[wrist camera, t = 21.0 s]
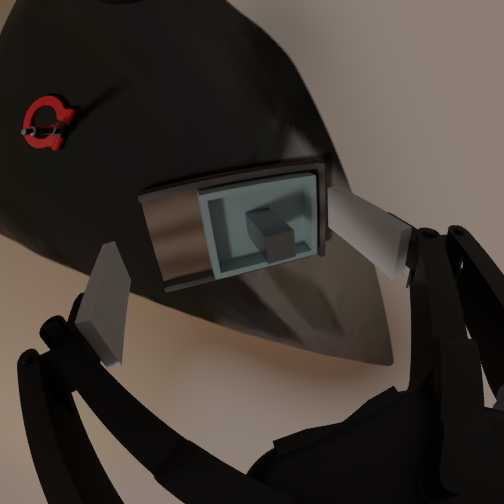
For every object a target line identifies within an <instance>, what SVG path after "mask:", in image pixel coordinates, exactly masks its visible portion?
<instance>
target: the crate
mask: <svg viewBox="0 0 504 504" xmlns="http://www.w3.org/2000/svg"><path fill="white" fill-rule="evenodd" d="M196 190H197V196H198V201H199V207H200V212H201V217H202V222H203V227H204V232H205V237H206V242H207V247H208V252H209V257H210V262H211V266H212V270H213V273H214V276H215V279H216V280H217V279H221V278H225V277H229V276H233V275H237V274H241V273H245V272H249V271H253V270H257V269H261V268H265V267H269V266H273V265H276V264H280V263H284V262H288V261H292V260H296V259H299V258H303V257H307V256H311V255H315V254H317V195H316V175H314V174H312V173H309V172H307V171H297V172H290V173H283V174H277V175H270V176H264V177H258V178H252V179H246V180H241V181H235V182H230V183H225V184H219V185H214V186H209V187H205V188H200V189H196ZM267 207H269V208H270V209H271V210H272V211H273V212H274V213H275V214H277V215H278V216H279V217H280V218H281V219H282V220H283V221H285V222H286V223H287V224H288V225H289V226H290V227H291V228H292V229H294V235H295V251H296V257H292V258H289V259H285V260H281V261H278V262H274V263H271V264H268V263H267V261H266V260H265V258H264V257H263V256H262V254H261V253H260V251H259V250H258V249H257V247H256V246H255V244H254V243H253V242H252V240H251V239H250V237H249V236H248V232H247V225H246V219H245V212H250V211H254V210H259V209H263V208H267Z"/></svg>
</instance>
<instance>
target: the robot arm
mask: <svg viewBox="0 0 504 504" xmlns="http://www.w3.org/2000/svg"><path fill="white" fill-rule="evenodd" d="M100 1H102V2H105V3H109V4H127V3H133V2H137V1H140V0H100ZM328 227H329V228H331V229H332V230H333V231H334V232H336V233H337V234H338V235H339V236H341V237H342V238H343V239H344V240H346V241H347V242H348V243H349V244H351V245H352V246H353V247H354V248H355V249H357V250H358V251H359V252H360V253H361V254H363V255H364V256H365V257H366V258H367V259H369V260H370V261H371V262H372V263H373V264H374V265H376V266H377V267H378V268H379V269H380V270H381V271H383V272H384V273H385V274H386V275H387V276H388V277H389V278H391V279H392V280H395V279H397V278H399V277H402V276H403V274H404V270H405V265H406V266H407V267H409V269H410V272H409V276H408V281H407V285H406V288H408V285H410V302H411V366H410V380H409V386H408V389H407V390H406V391H401V392H398V391H397V390H396V388H395V387H394V386H392V387H391V388H389V389H387V390H386V391H384V392H382V393H380V394H379V395H377V396H375V397H373V398H372V399H370V400H368V401H367V402H366V403H365V404H363V405H362V406H361V407H360V408H359V409H358V410H357V411H355V412H354V413H353V414H352V415H351V416H349V417H348V418H347V419H346V420H344V421H343V422H341V423H336V424H331V425H326V426H321V427H316V428H309V429H305V430H302V431H300V432H297V433H294V434H291V435H289V436H286V437H283V438H280V439H277V440H274V441H273V444H274V448H273V449H271V450H270V451H268V452H266V453H265V454H264V455H263V456H261V457H260V458H259V459H258V460H257V461H256V462H255V463H254V464H253V465H252V467H251V468H250V469H249V471H248V472H247V474H246V475H245V474H243V473H241V472H240V471H238V470H236V469H235V468H233V467H231V466H229V465H228V464H226V463H224V462H223V461H221V460H219V459H218V458H216V457H214V456H213V455H211V454H210V453H208V452H207V451H205V450H204V449H202V448H201V447H199V446H198V445H196V444H195V443H193V442H191V441H189V440H187V439H185V438H184V437H182V436H181V435H180V434H178V433H177V432H176V431H174V430H173V429H171V428H170V427H169V426H168V425H167V424H165V423H164V422H163V421H161V420H160V419H159V418H158V417H157V416H155V415H154V414H153V413H152V412H150V411H149V410H148V409H147V408H146V407H145V406H144V405H142V404H141V403H140V402H139V401H138V400H137V399H136V398H135V397H133V396H132V395H131V394H130V393H129V392H128V391H127V390H126V389H125V388H124V387H123V386H122V385H121V384H120V383H119V382H118V381H117V380H116V379H115V378H114V377H113V376H112V375H111V374H110V373H109V372H108V371H107V370H106V369H105V368H104V367H103V366H102V365H101V364H100V361H102V362H103V363H104V365H105V366H106V367H107V368H110V367H115V366H121V365H122V353H123V341H124V330H125V320H126V312H127V303H128V296H129V289H130V283H131V279H130V277H129V275H128V273H127V270H126V268H125V266H124V263H123V261H122V258H121V256H120V254H119V251H118V249H117V246H116V243H115V241H113V242H110V243H107V244H104V245H103V246H102V249H101V251H100V253H99V256H98V258H97V261H96V263H95V266H94V268H93V271H92V273H91V276H90V279H89V282H88V284H87V287H86V290H85V292H84V293H80V294H79V295H78V297H77V298H76V299H75V301H74V303H73V306H72V309H71V312H70V315H69V318H68V321H67V322H66V321H65V319H64V318H63V317H62V316H60V315H58V316H57V315H56V316H53V317H51V318H50V319H48V320H47V321H46V322H45V323H44V324H43V325H42V327H41V329H40V332H39V334H40V337H41V338H42V340H43V341H44V342H45V344H47V346H48V347H49V349H50V351H48V352H46V353H44V354H42V355H39V353H38V352H37V351H36V350H35V349H28V350H26V351H25V352H24V353H22V354H21V356H20V357H19V360H18V362H17V372H18V373H17V374H18V385H19V394H20V402H21V408H22V414H23V420H24V426H25V430H26V435H27V439H28V444H29V447H30V451H31V455H32V459H33V462H34V466H35V469H36V472H37V475H38V478H39V481H40V483H41V486H42V489H43V492H44V494H45V496H46V499H47V502H48V504H124V503H123V501H122V499H121V498H120V496H119V495H118V493H117V491H116V490H115V488H114V486H113V485H112V483H111V481H110V480H109V478H108V476H107V474H106V472H105V470H104V469H103V467H102V465H101V463H100V461H99V459H98V457H97V455H96V453H95V451H94V448H93V446H92V444H91V442H90V440H89V438H88V435H87V433H86V430H85V428H84V426H83V423H82V421H81V418H80V416H79V413H78V410H77V407H76V405H75V402H74V399H73V396H72V393H71V392H74V391H76V390H77V391H78V393H79V394H80V395H81V397H82V398H83V399H84V401H85V402H86V403H87V405H88V406H89V407H90V408H91V410H92V411H93V412H94V413H95V415H96V416H97V417H98V418H99V419H100V421H101V422H102V423H103V424H104V425H105V426H106V428H107V429H108V430H109V431H110V432H111V433H112V434H113V435H114V437H115V438H116V439H117V440H118V441H119V442H120V443H121V444H122V445H123V446H124V447H125V448H126V449H127V450H128V451H129V452H130V453H131V454H132V455H133V456H134V457H135V458H136V459H137V460H138V461H139V462H140V463H141V464H142V465H143V466H144V467H146V468H147V469H148V470H149V471H150V472H151V473H152V474H153V475H154V478H155V479H156V481H157V482H158V483H159V484H160V485H162V486H163V487H164V488H165V489H166V490H168V491H169V492H170V493H171V494H173V495H174V496H175V497H176V498H178V499H179V500H181V501H182V502H183V503H185V504H504V275H503V273H502V272H501V271H500V269H499V268H498V267H497V265H496V264H495V263H494V261H493V260H492V259H491V258H490V256H489V255H488V254H487V253H486V251H485V250H484V249H483V248H482V247H481V246H480V244H479V243H478V242H477V241H476V240H475V238H474V237H473V236H472V235H471V234H470V233H469V232H468V231H467V230H466V229H465V228H463V227H462V226H459V225H457V226H455V225H452V226H449V228H448V233H447V235H440V234H439V233H438V232H437V231H436V230H433V229H430V228H420V229H416V228H415V227H413V226H412V225H410V224H408V223H407V222H405V221H403V220H401V219H400V218H398V217H396V216H395V215H393V214H391V213H388V212H385V211H384V210H382V209H380V208H378V207H377V206H375V205H373V204H371V203H369V202H368V201H366V200H364V199H362V198H360V197H358V196H356V195H355V194H353V193H351V192H349V191H347V190H345V189H343V188H341V187H339V186H333V187H328ZM462 261H463V267H462V268H461V265H462ZM466 327H467V329H468V331H469V333H470V336H471V338H472V339H468V337H467V331H466ZM480 361H481V362H480ZM481 364H482V367H483V370H484V373H485V376H486V378H487V381H488V384H489V386H490V388H491V390H492V392H493V394H494V396H495V398H496V400H497V402H496V403H495V404H494V405H493V408H488V407H484V393H483V392H484V391H483V380H482V370H481Z"/></svg>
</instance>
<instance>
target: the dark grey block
mask: <svg viewBox="0 0 504 504" xmlns="http://www.w3.org/2000/svg"><path fill="white" fill-rule="evenodd" d="M245 219H246V225H247V232H248V236H249V237H250V239H251V240H252V242H253V243H254V244H255V246H256V247H257V249H258V250H259V251H260V253H261V254H262V256H263V257H264V258H265V260H266V261H267V263H268V264H271V263H274V262H278V261H281V260H285V259H289V258H292V257H296V251H295V235H294V229H292V228H291V227H290V226H289V225H288V224H287V223H286V222H285V221H283V220H282V219H281V218H280V217H279V216H278V215H277V214H275V213H274V212H273V211H272V210H271V209H270V208H269V207H267V208H263V209H259V210H254V211H250V212H245Z"/></svg>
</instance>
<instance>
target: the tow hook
mask: <svg viewBox="0 0 504 504" xmlns="http://www.w3.org/2000/svg"><path fill="white" fill-rule="evenodd" d="M45 105H50V106H52V107H53V108H54V109H55V111H56V114H57V119H58V120H60V121H62V122H57V124H53V125H50V126H32V120H33V117H34V115H35V113H36V112H37V111H38V109H40V108H41V107H42V106H45ZM75 112H76V111H75V110H73V109H70V108H68V109H66V108H65V105H64V104H63V102H62V101H61V100H60V99H59V98H57V97H54V96H44V97H41V98H39V99H38V100H36V101H35V102H34V103H33V104H32V105H31V106H30V108H29V109H28V111H27V113H26V116H25V119H24V124H23V130H22V132H21V133H22V135H24V136H25V139H26V140H27V142H28V143H29V144H30V145H31V146H32V147H35V148H45V147H48V146H50V147H52V149H53V150H55V151H59V149H60V147H61V144H62V142H63V139H64V137H65V136H66V133H67V131H68V129H69V126H70V123H71V120H72V118H73V116H74V114H75ZM47 134H48V135H49V136H47V137H46V138H43V139H40V138H37V137H36V135H47Z"/></svg>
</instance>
